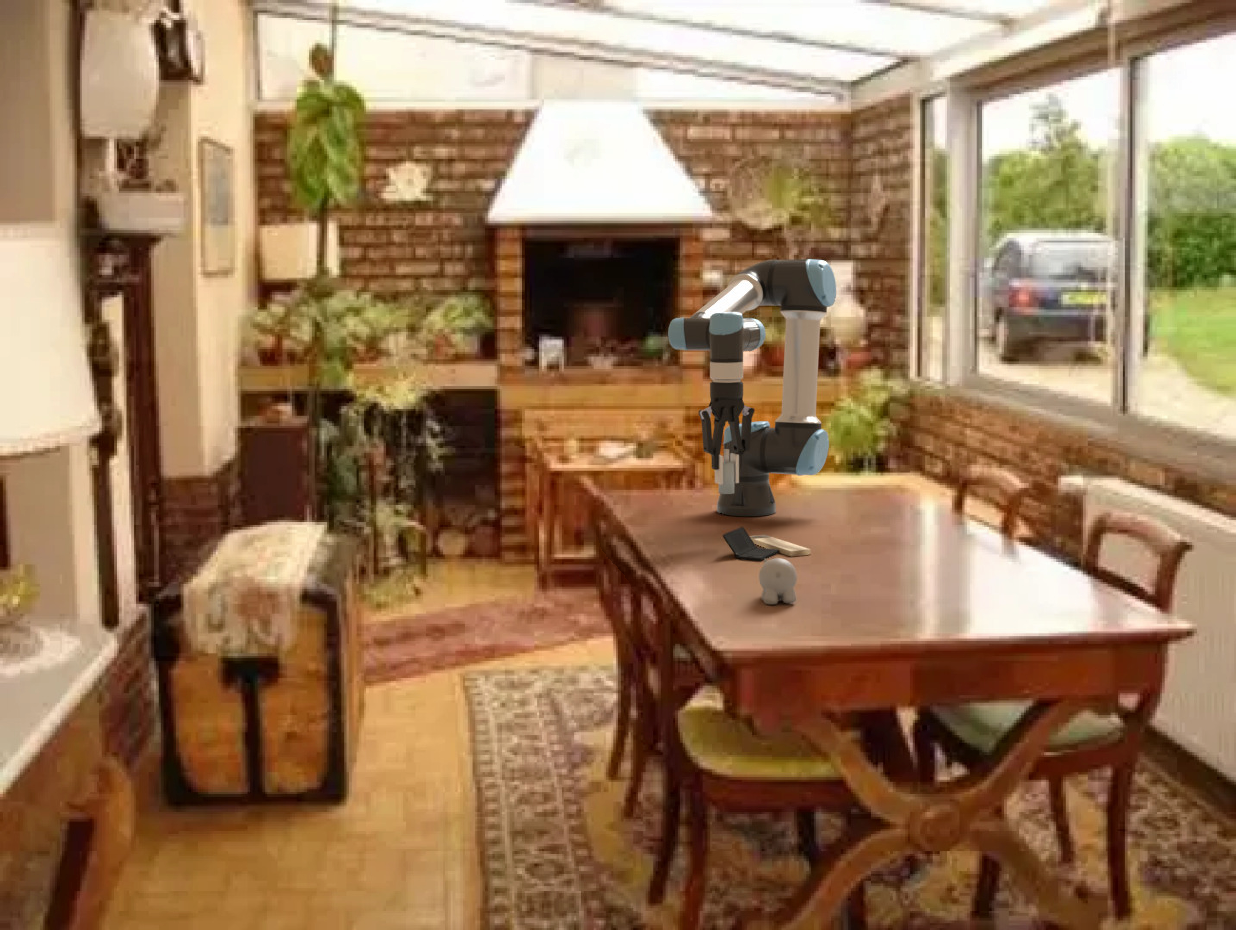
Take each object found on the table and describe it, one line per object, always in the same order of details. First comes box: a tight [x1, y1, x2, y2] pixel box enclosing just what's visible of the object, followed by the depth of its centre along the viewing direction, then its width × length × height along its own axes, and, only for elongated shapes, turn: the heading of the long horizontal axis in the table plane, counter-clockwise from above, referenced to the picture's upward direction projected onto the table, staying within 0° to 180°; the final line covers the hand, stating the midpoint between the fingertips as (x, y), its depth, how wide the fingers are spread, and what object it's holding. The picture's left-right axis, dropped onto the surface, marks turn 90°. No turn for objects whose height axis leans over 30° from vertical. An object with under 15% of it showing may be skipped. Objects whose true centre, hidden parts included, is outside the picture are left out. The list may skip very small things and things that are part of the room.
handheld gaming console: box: [722, 526, 780, 563], centre depth 340 cm, size 12×7×10 cm
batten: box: [749, 534, 811, 558], centre depth 348 cm, size 5×20×1 cm, turn 25°
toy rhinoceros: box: [758, 557, 798, 606], centre depth 296 cm, size 7×12×8 cm, turn 3°
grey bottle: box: [718, 448, 735, 495], centre depth 352 cm, size 4×4×10 cm
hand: (726, 482), depth 352 cm, fingers closed on grey bottle, 3 cm apart
